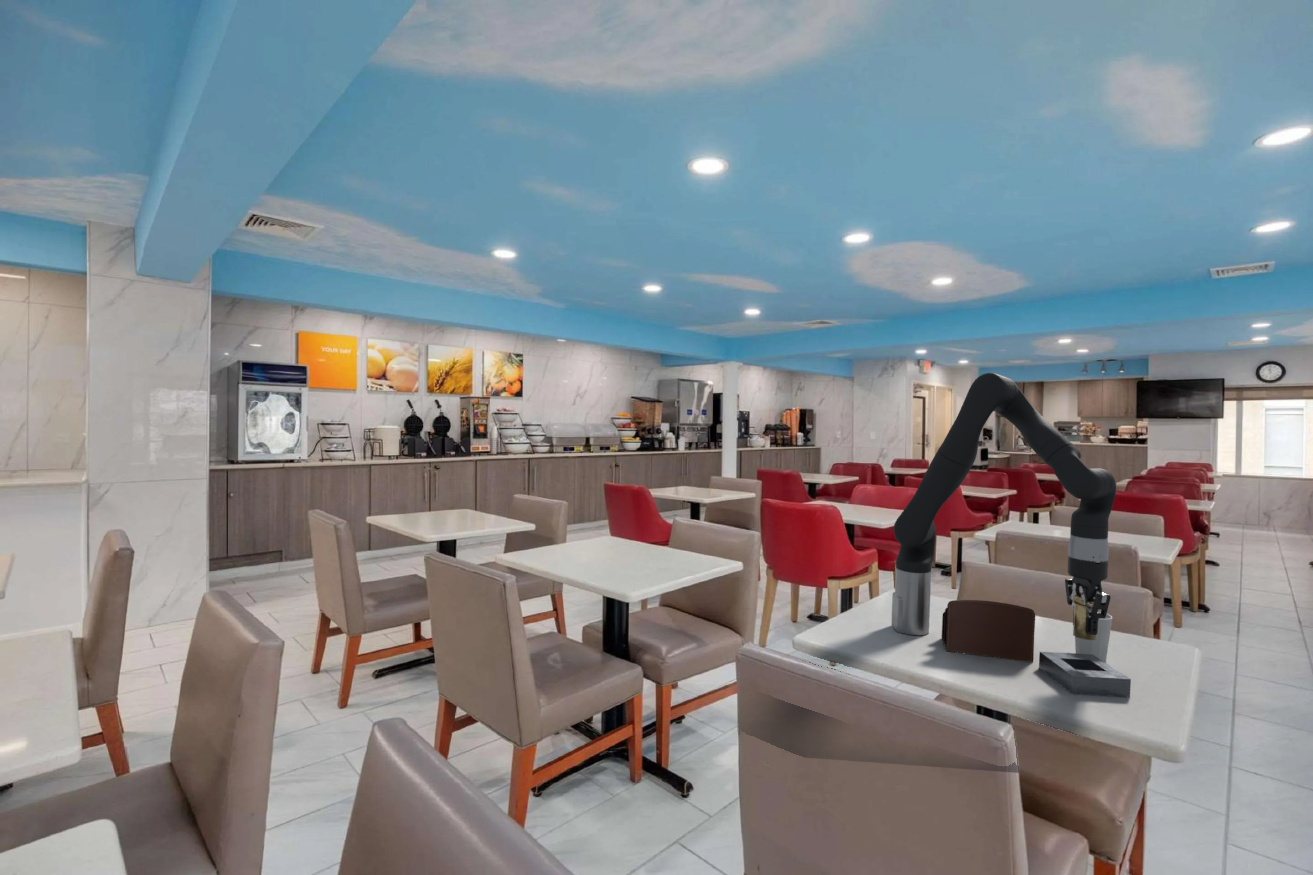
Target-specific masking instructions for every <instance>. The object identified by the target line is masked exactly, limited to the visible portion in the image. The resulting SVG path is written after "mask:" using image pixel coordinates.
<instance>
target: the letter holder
mask: <svg viewBox="0 0 1313 875" xmlns="http://www.w3.org/2000/svg"><path fill="white" fill-rule="evenodd" d="M941 622H942V623H941V624H942V625H941V640H942V643H943V646H944V649H945V652H947V653H955V652H958V653H957V654H963V653H965V655H972V656H980V657H987V658H988V657H989V658H994V657H995V658H994V659H1004V660H1011V661H1018V662H1024V663H1025V662H1026V663H1033V662H1034V659H1035V658H1034V654H1035V653H1034V652H1035V651H1034V650H1035V629H1036V612H1035V610H1034V609H1032V608H1029V607H1026V606H1021V605H1017V604H1012V603H1006V602H999V601H990V600H977V599H962V600H961V599H957V600H950V601H948V603H947V606H946V608H945V609H944V612H943V613H942V621H941Z"/></svg>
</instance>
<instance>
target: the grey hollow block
mask: <svg viewBox="0 0 1313 875" xmlns="http://www.w3.org/2000/svg"><path fill="white" fill-rule="evenodd" d="M1038 661H1039V662H1038V669H1039V670H1041V671H1042V672H1043V673H1045V674H1046V675H1047V676H1048V677H1049V678H1051V679H1052V680H1053V681H1055V682H1056V683H1057V684H1058V685H1060V686H1061V687H1062V688H1063V689H1065V690H1066V691H1067V692H1068V693H1070V694H1071V695H1085V696H1087V695H1088V696H1103V697H1105V696H1106V697H1121V698H1131V686H1132V685H1131V682H1132V679H1131V678H1130V677H1128V676H1127V675H1126V674H1123V673H1122V672H1121V671H1119V670H1118V669H1116V668H1114V667H1113V666H1111V665H1109V664H1108V663H1107V662H1106V663H1105V662H1104V661H1102V660H1101V659H1099V658H1097V657H1096V656H1094V655H1093V654H1076V652H1073V653H1072V652H1055V651H1053V652H1052V651H1039V659H1038Z"/></svg>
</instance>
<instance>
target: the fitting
mask: <svg viewBox="0 0 1313 875" xmlns="http://www.w3.org/2000/svg"><path fill="white" fill-rule="evenodd" d="M1073 602H1074V626H1073V625H1072V627H1073V628H1072V632H1073V633H1072V636H1074V638H1075V637H1077V638H1081V639H1085V640H1096V637H1097V635H1088V634H1087V633H1086V632H1085V626H1086V610H1085V607H1083V601H1082V598H1081V597H1079V596H1075V597H1074V596H1073ZM1087 602H1088V603H1089V604H1093V603H1094V602H1089V601H1087ZM1092 608H1093V607H1091V612H1092Z"/></svg>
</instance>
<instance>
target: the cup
mask: <svg viewBox="0 0 1313 875" xmlns="http://www.w3.org/2000/svg"><path fill="white" fill-rule="evenodd" d="M1100 613H1101V611H1100ZM1112 624H1113V616H1112V615H1110V614H1109V613H1107V614H1106V618H1100V619H1098V632H1097V637H1096V640H1085V639H1081V638H1077V637H1075V636H1074V648H1075V653H1076V654H1093V655H1094V656H1096V657H1097V658H1099V659H1101V660H1102V661H1104V662H1105V663H1107V656H1108V651H1109V650H1108V649H1109V642H1110V636H1111V630H1112Z"/></svg>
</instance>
